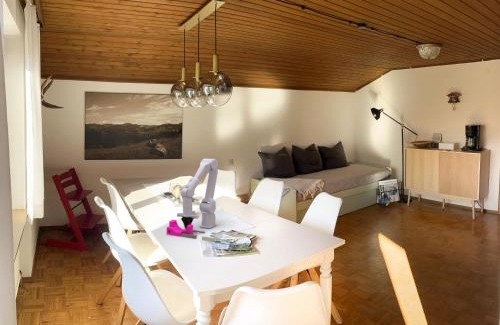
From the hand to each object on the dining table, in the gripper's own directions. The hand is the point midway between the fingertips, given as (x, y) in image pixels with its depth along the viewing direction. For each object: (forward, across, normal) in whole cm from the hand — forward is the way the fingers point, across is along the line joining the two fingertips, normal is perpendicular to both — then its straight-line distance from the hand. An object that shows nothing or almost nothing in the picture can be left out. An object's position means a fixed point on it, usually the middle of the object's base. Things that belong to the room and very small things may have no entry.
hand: (188, 228), depth 238 cm
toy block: (+3, -3, -4) cm, 6 cm away
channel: (+3, +4, -2) cm, 6 cm away
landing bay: (+3, +20, -1) cm, 21 cm away
